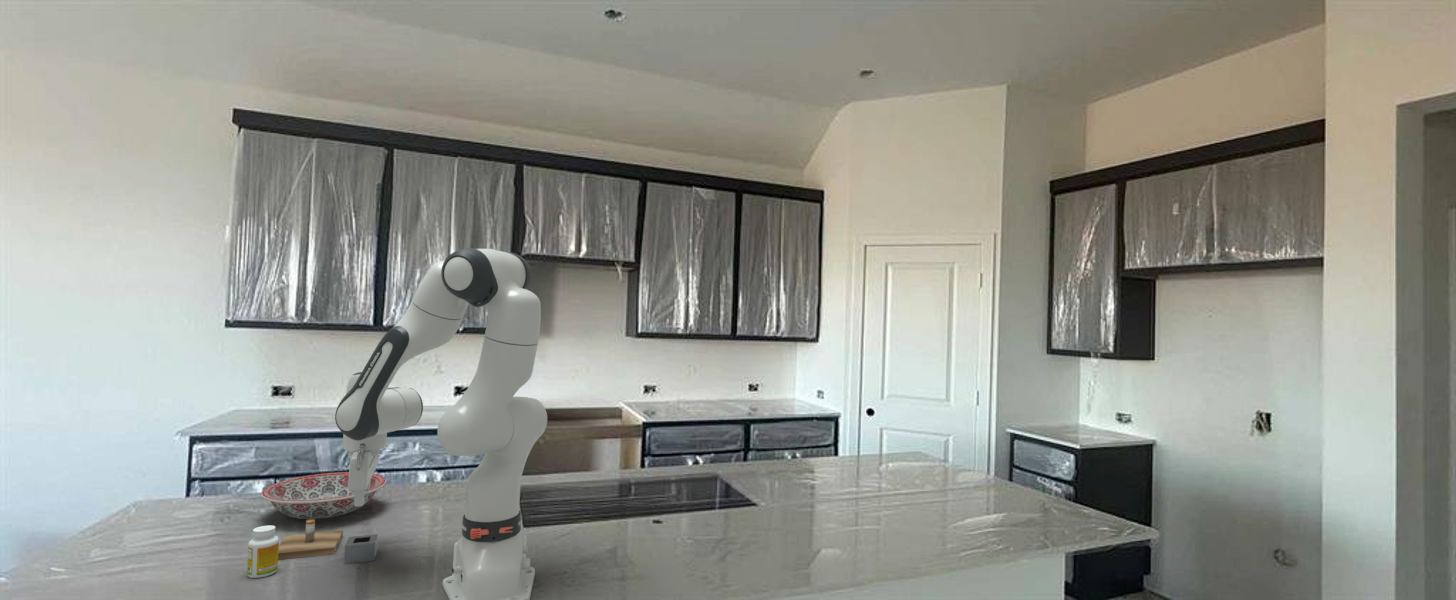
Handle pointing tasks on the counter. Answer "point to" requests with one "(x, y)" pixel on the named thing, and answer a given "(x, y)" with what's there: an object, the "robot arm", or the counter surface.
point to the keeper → (309, 543)
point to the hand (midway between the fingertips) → (361, 499)
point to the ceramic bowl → (317, 495)
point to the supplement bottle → (263, 552)
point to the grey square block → (361, 548)
